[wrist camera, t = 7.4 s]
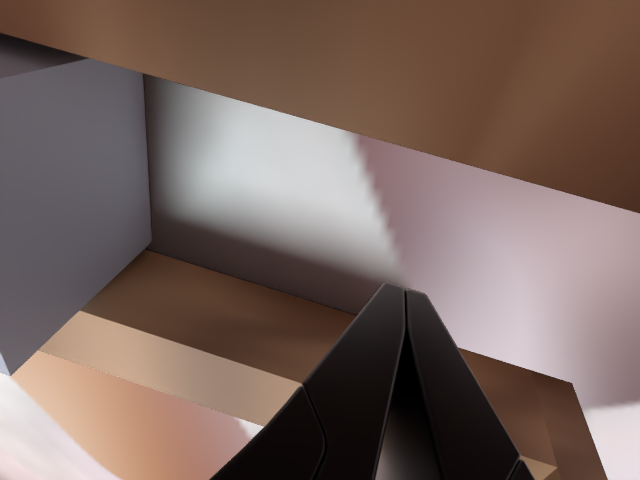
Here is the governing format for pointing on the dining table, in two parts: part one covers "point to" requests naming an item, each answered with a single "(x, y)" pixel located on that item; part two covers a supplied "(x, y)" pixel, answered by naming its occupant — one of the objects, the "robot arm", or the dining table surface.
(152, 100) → the dining table surface
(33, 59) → the block
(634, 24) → the chute
